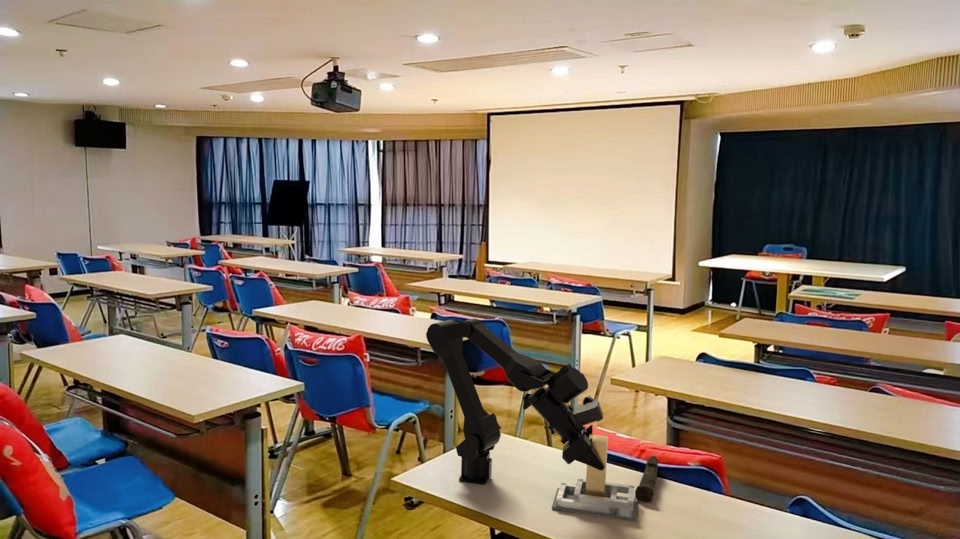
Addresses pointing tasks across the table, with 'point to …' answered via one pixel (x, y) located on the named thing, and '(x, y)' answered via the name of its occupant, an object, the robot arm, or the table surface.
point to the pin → (595, 476)
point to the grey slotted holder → (595, 498)
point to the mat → (618, 513)
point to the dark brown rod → (647, 481)
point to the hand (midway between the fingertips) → (603, 464)
